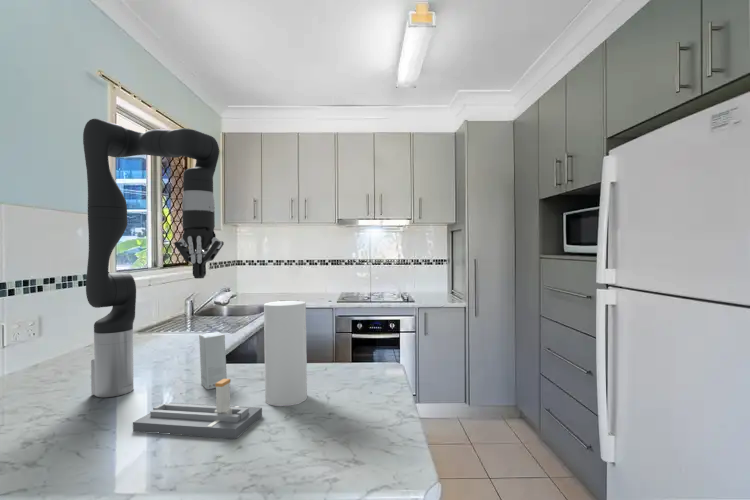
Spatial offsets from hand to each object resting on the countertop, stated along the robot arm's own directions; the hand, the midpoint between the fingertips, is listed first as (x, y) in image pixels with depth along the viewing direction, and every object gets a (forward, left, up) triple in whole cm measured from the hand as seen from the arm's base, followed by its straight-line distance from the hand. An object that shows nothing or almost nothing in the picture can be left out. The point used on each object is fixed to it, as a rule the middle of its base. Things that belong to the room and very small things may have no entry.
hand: (199, 278), depth 105 cm
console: (+7, -11, -32) cm, 35 cm away
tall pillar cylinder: (+20, +7, -32) cm, 39 cm away
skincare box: (-6, +15, -32) cm, 36 cm away
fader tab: (+13, -11, -30) cm, 34 cm away
